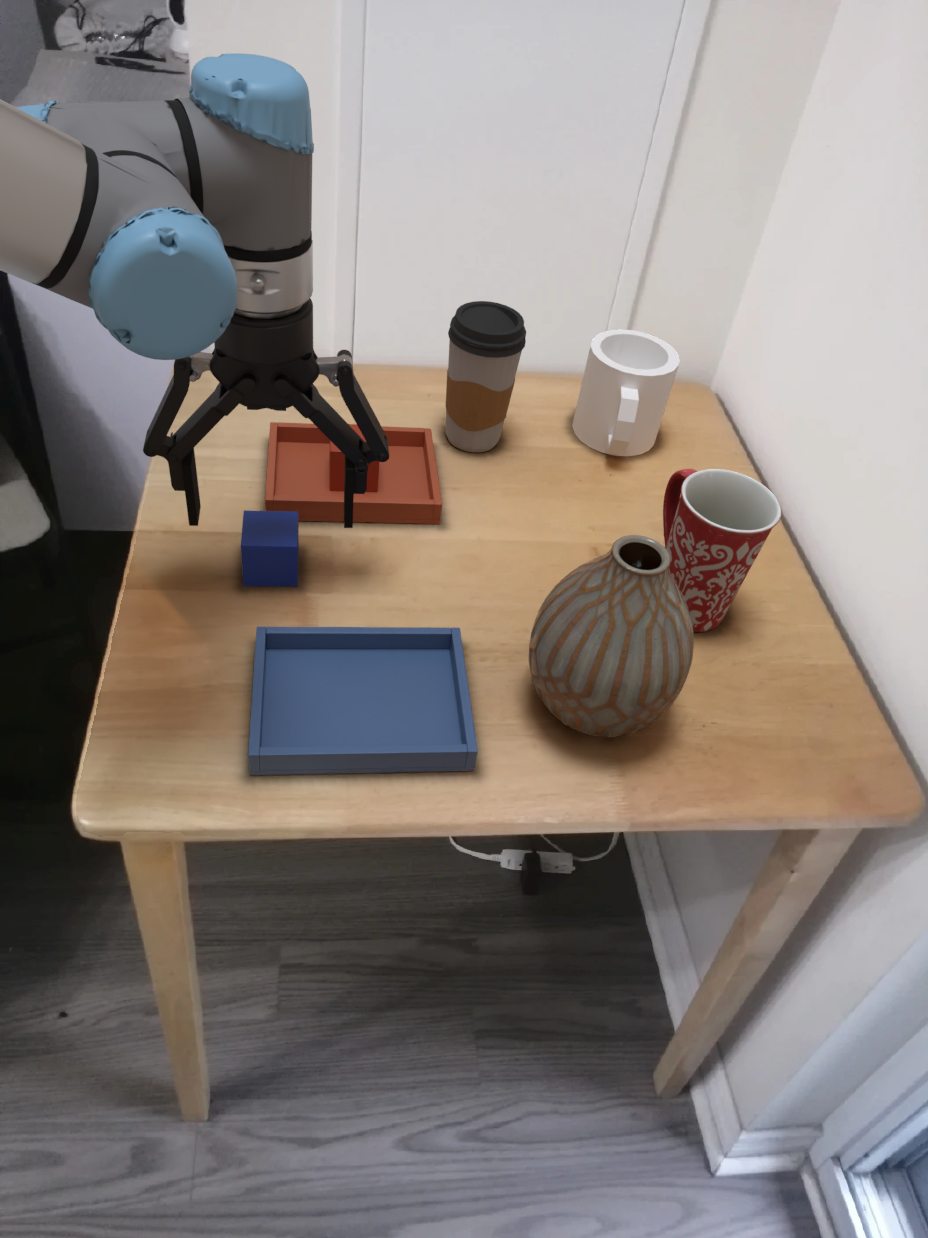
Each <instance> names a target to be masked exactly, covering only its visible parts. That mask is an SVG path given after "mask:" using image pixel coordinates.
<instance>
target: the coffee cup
mask: <svg viewBox="0 0 928 1238" xmlns="http://www.w3.org/2000/svg"><path fill="white" fill-rule="evenodd" d="M447 334H448V338H449V341H448V342H449V343H448V361H447V362H448V363H447V367H448V368H447V370H446V387H445V426H444V431H445V435H446V437H447V439H448V442H449V443H450V444H451V445H452V446H453V447H455V448H457V449H458V450H461V451H463V452H468V453H484V452H487V451H491V450H492V449H493V448H495V446H496V445H497V444H498V442H499V441H500V438H501V435H502V431H503V427H504V423H505V419H506V417H507V414H508V411H509V406H510V402H511V399H512V396H513V395H512V394H513V391H514V386H515V383H516V376H517V371H518V367H519V363H520V360H521V359H520V358H521V354H522V351H523V350H524V349H525V347H526V343H527V341H526V340H527V339H526V337H527V330H526V327H525V319H524V317H523V316H522V314H520V312H518V311H517V310H516V309H514V308H512V307H511V306H508V305H506V304H503V303H499V302H494V301H488V300H486V301H485V300H477V301H470V302H466V303H464V304H462V305H460V306H458V308H457V309H456V311H455V313H454V315H453V317H452V318H451V320H450V324H449V329H448V332H447Z"/></svg>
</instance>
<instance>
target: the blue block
mask: <svg viewBox="0 0 928 1238" xmlns="http://www.w3.org/2000/svg"><path fill="white" fill-rule="evenodd" d="M299 537H300V535H299V521H298V512H288V511H266V510H247V509H246V510H243V514H242V527H241V536H240V556H241V557H240V558H241V574H242V586H243V587H278V588H279V587H282V588H283V587H286V588H287V587H289V588H291V587H292V588H297V587H299V558H300V556H299V551H300V548H299V547H300V545H299V544H300V543H299V542H300V541H299Z"/></svg>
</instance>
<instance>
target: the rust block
mask: <svg viewBox="0 0 928 1238" xmlns="http://www.w3.org/2000/svg"><path fill="white" fill-rule="evenodd" d="M348 424H349V426H350V427H351V428H352V429H353V430H354V431H355V432H356V433H357V434H358V435H359V436H360V437H361V438H362V439H363V440H364V441H365V442H366V440H365V438H364V436H363V435H362V433H361V431H360V429H359V427H358V426H357V424H356V423H348ZM379 463H380V462H379V461H373V462H371V463H370V464H369V465H368V470H367V490H366V492H378V479H379ZM344 473H345V455H344V454H343V453H342V452H341V451H340V450H339V449H338V448H337V447H336V446H335V445H334V444H333V443H332V442H331V441H330V448H329V486H330V491H344Z"/></svg>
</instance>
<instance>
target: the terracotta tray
mask: <svg viewBox="0 0 928 1238" xmlns="http://www.w3.org/2000/svg"><path fill="white" fill-rule="evenodd" d="M381 427H382V429H383V430H384V432H385V434H386V436H387V438H388V446H389V459H388V460H387V461H386V462H380V463H379V479H378V492H365V493H364V494H354V498H353V523H377V524H379V523H382V524H383V523H384V524H422V525H424V524H425V525H440V523H441V517H442V509H443V508H442V507H443V501H442V494H441V486H440V480H439V475H438V473H439V472H438V467H437V459H436V454H435V446H434V440H433V432H432V428H429V427H410V426H408V427H407V426H406V427H405V426H383V425H381ZM268 433H269V434H268V449H267V450H268V451H267V465H266V481H265V495H264V504H265V505H264V507H265V509H264V510H265V511H288V512H298V522H331V523H332V522H333V523H334V522H338V523H339V522H340V523H344V491H330V486H329V448H330V440H329V439H328V438H327V437H326V436H325V435H324V434H323V432H322V431H321V430H320V429H319V428H318V427H317V426H316V425H315V424H314V423H308V422H307V423H305V422H303V423H302V422H283V421H281V422H275V421H274V422H273V421H271V422H269V432H268Z"/></svg>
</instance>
